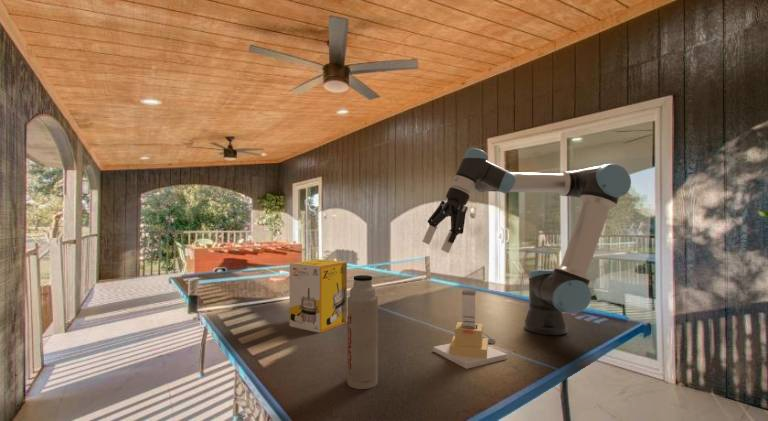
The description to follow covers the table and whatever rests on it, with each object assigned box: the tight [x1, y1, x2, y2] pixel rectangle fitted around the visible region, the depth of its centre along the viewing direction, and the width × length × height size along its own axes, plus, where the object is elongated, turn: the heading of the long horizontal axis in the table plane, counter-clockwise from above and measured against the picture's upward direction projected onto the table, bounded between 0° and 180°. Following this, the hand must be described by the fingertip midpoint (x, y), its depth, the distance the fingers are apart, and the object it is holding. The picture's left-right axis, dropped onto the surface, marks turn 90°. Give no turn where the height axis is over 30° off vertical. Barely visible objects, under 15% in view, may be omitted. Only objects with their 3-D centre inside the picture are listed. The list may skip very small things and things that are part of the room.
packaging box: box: [289, 259, 348, 334], centre depth 154 cm, size 16×16×25 cm
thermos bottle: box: [346, 274, 379, 390], centre depth 101 cm, size 8×8×28 cm
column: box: [461, 289, 477, 329], centre depth 120 cm, size 4×4×18 cm
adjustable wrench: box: [483, 331, 496, 345], centre depth 143 cm, size 25×6×2 cm, turn 8°
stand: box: [433, 321, 508, 370], centre depth 120 cm, size 23×23×9 cm
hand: (434, 247), depth 130 cm, fingers open, 13 cm apart
